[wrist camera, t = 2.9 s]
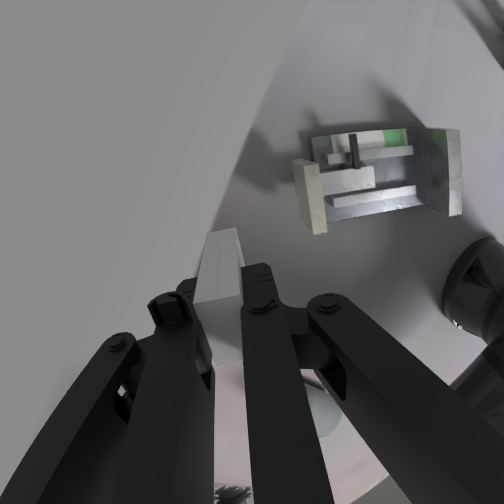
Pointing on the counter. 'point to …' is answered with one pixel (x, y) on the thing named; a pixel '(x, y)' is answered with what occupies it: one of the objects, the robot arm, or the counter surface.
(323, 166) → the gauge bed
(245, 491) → the aluminum extrusion profile
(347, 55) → the counter surface
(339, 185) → the sliding gauge carriage
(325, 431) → the grey tan cylinder
